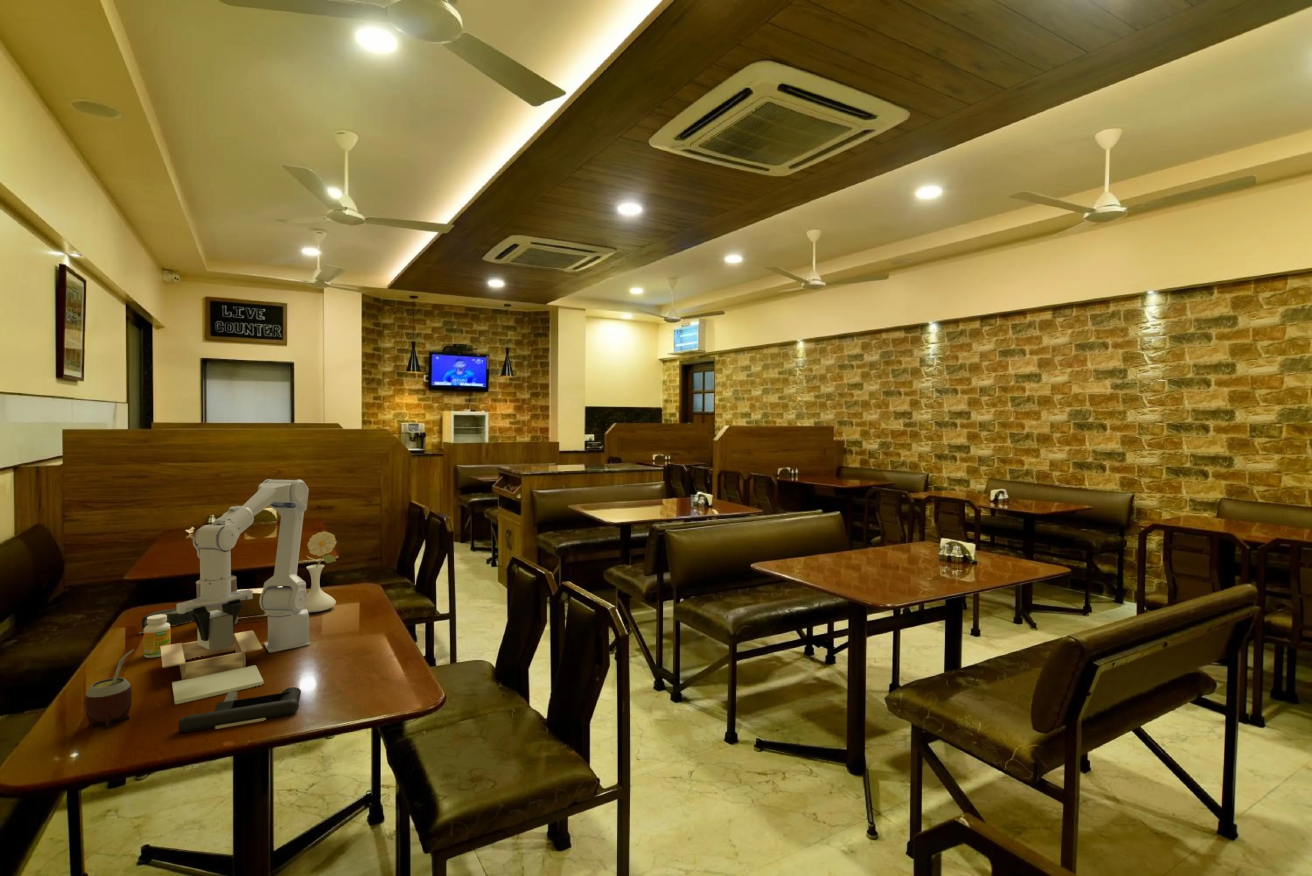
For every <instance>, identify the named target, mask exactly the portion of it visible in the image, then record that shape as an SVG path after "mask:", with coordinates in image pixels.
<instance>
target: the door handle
mask: <svg viewBox="0 0 1312 876" xmlns="http://www.w3.org/2000/svg"><path fill="white" fill-rule="evenodd" d="M301 692H302V690H301V689H300V688H298V687H293V686H292V687H288V688H286V689H284V690H283V691H282V692H278V693H274V694H266V695H260V696H253V697H247V698H241V699H238V691H233V692H229V693H226V696H225V698H224V699H223V701H221V702H217V704H216V706H215V708H214V709H213V711H209V712H202V713H195V714H190V715H187V716H184V717H179V719H178V726H177V728H178V732H179V733H181V732H184V733H189V732H195V731H201V730H208V729H215V730H218V729H224V728H229V727H234V726H242V725H248V724H252V723H259V722H263V721H264V720H265V721H266V720H267V719H273V718H278V717H285V715H286V716H290V715H293V714H295V713H297V711H298V710H299V708H300V698H301V696H302V695H301V694H302V693H301ZM265 721H264V722H265Z"/></svg>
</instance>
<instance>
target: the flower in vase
mask: <svg viewBox="0 0 1312 876" xmlns="http://www.w3.org/2000/svg"><path fill="white" fill-rule="evenodd" d="M336 545H337V540H336V536H335V534H333V533H331V532H328V531H322V532H317V533H316V534H313V535H312V536H311V537H309V541H308V542H307V547H308V550H309V553H310V554H311V555H313V556H317V557H321V559H320V561H318V560H317V559H314V558H313V557H309V556H308V555H306V557H307V558H308V559H310V560H312V561H315V562H316V563H317V564H311V565H308V566H306V570H308V572H309V574H310V580H311V583H310V584H311V586H310V590H309V592H307V601H306V604H305V606H304V607H303V609H307V610H308V613H317V612H323V611H327V610H329V609H331V608H333V607H334V606H335V605H336V603H337V601H336V600H335V599H334V598H333V596H331V595H329V594H328V593H326V592H324V591H323V590H322V588H321V586H320V585H321V584H320V579H321V573H322V571H323V568H324V567H325V565H324V564H321V562H322V560H323V561H324V562H325V563H326V564H331V563H334V562H337V560H336V558H335V557H334V556H333V555H331V554H329V553H331V552H332V551H333V549H334V548H335V547H336ZM326 554H327V555H326Z"/></svg>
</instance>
